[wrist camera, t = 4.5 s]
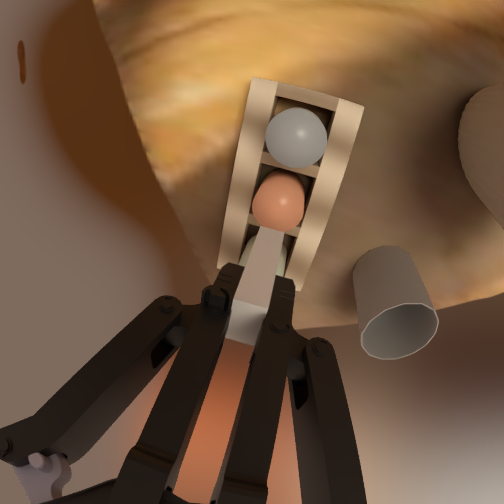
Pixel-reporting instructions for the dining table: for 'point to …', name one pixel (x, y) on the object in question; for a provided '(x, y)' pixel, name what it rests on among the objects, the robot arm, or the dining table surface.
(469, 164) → the canister
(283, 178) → the brown egg
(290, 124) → the grey egg
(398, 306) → the cup
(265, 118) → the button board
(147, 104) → the dining table surface
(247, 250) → the pale green egg
